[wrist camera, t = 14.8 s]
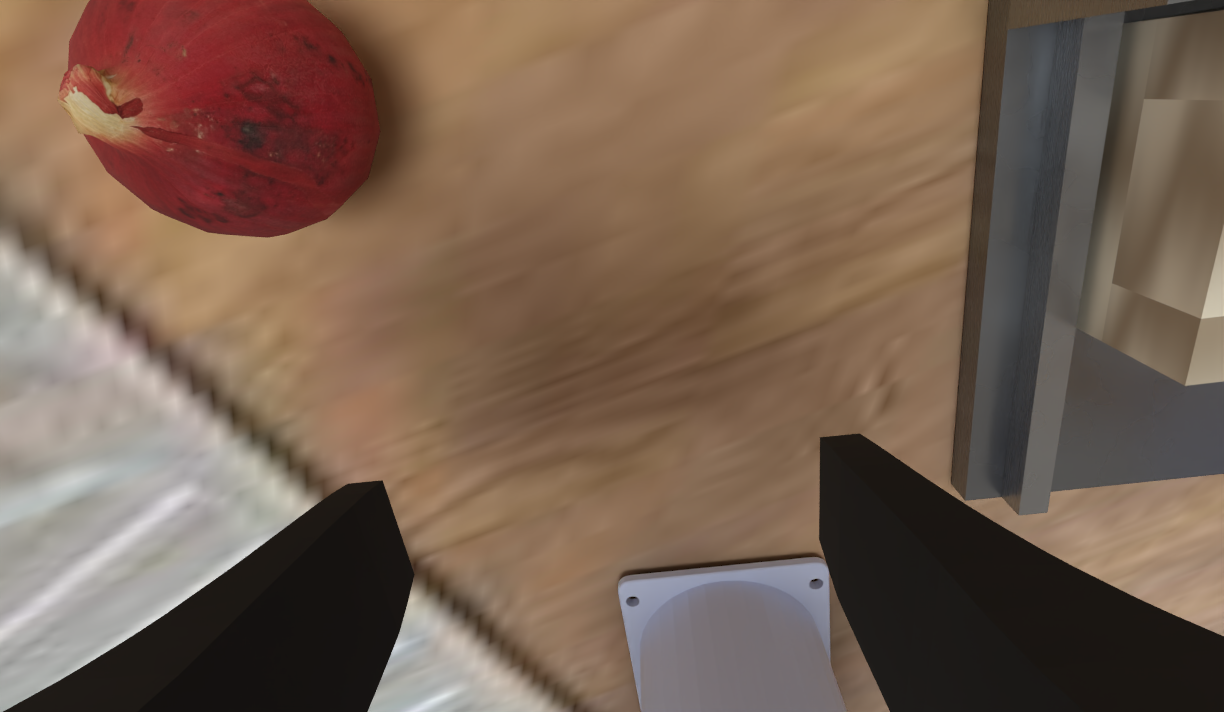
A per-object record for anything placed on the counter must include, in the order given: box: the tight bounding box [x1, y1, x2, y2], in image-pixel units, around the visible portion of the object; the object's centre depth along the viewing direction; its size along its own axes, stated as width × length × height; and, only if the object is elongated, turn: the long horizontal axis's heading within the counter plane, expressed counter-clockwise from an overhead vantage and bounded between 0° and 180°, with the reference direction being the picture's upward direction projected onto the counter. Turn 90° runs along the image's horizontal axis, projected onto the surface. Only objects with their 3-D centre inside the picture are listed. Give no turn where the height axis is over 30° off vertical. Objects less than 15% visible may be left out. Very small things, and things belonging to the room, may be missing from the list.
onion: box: [57, 0, 380, 237], centre depth 14 cm, size 6×6×8 cm
